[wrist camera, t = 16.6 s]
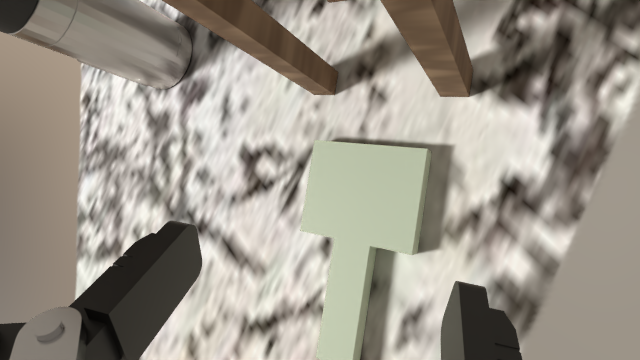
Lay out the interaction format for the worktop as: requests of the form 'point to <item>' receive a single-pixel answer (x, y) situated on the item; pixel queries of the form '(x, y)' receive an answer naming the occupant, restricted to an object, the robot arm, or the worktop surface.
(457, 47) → the stool
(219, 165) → the worktop surface
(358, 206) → the green block
